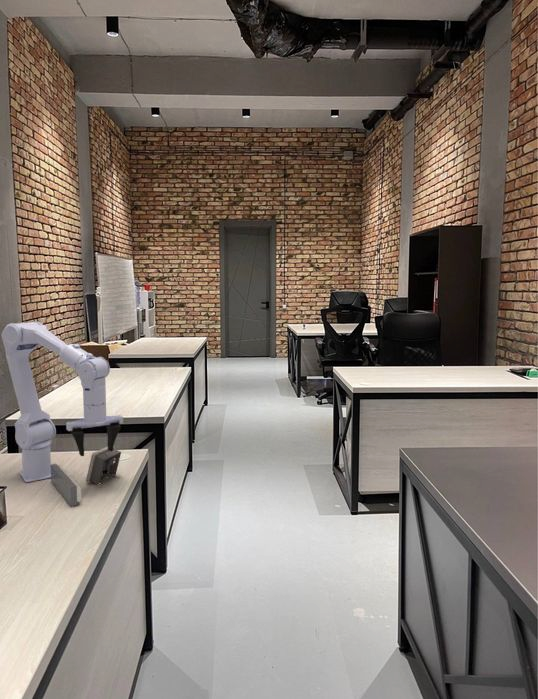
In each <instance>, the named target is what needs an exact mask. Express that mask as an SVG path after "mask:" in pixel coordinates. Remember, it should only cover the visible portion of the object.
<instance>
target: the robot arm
mask: <svg viewBox="0 0 538 699" xmlns="http://www.w3.org/2000/svg"><path fill="white" fill-rule="evenodd" d="M1 340H2V343H3V346H4V351H5V359H6V362H7V365H8V370H9V372H10V373H9V374H10V377H11V381H12V384H13V389H14V393H15V396H16V401H17V404H18V408H19V412H20V416H19V417H18V419H17V420H16V422H15V423H14V428H15V435H14V436H15V437H14V438H15V442H16V444H17V445H18V446H19V447H20V448H19V449H21V462H22V470H19V471H18V473H19V475H20V476H21V478H22V479H23V481H24V482H25V483H29V482H35V481H40V480H45V479H51V465H52V460H51V454H52V453H51V444H52V443H53V440H54V439H55V436H56V434H57V429H56V426H55V424H54V422H53V421H52V419H51V415H50V413H48V412H46V411H44V410H42V407H41V403H40V399H39V395H38V390H37V388H36V387H37V386H36V384H35V379H34V376H33V371H32V367H31V364H30V358H29V356H30V355H31V352H33V351H34V350H35V349H36V348H37V347H39V345H40V346H42V347H43V348H46V349H48V350H50V351H51V352H52V353H54V354H56V355H59V361H60V362H61V363H63V364H64V365H66V366H68V367H69V368H70V369H72V370H73V371H75V372H76V373H77V376H78V379H80V382H81V383H80V385H81V387H82V397H83V399H82V400H83V405H82V406H83V418H82V419H78V420H77V419H76V420H73V421H67V422H66V424H65V425H66V426H65V427H66V428H65V429H66V431H68V432H70V433H71V435H72V437H73V439H74V441H75V443H76V446H77V449H78V453H79V455H80V456H81V457H85V446H84V442H85V440H84V439H85V433H84V432H83V429H87V428H95V427H102V426H103V427H104V426H105V427H106V432H107V433H106V434H107V447H108V450H109V451H113V446H114V445H115V442H116V439H117V436H118V434H119V432H120V430H121V428H122V426H121V424H124V416H123V415H121V414H120V415H119V414H118V415H107V395H106V394H107V391H106V390H107V387H106V378H107V377H108V376H109V374H110V372H111V371H110V370H111V366H110V364H109V362H108V360H106V359H105V358H104V357H103V356H97V357H96V356H94V354H92V353H91V352H87V351H86V350H84V349H83V348H81V345H79V344H78V343H70V344H67V343H65V342H64V341H63V340H61V339H60V338H59V337H58V336H56V335H55V334H54V333H52V332H51V331H50V330H48V327H47V326H46V324H42V323H41V322H40V321H31V322H20V323H18V322H17V323H13V322H12V323H11V322H10V323H8V324H7V325H6V326H5V327H4V329H3V330H2V332H1Z"/></svg>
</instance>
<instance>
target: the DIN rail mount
mask: <svg viewBox="0 0 538 699" xmlns="http://www.w3.org/2000/svg"><path fill="white" fill-rule="evenodd" d="M50 482H51V484H52V486H54V488H55V489H56V490H57V491H58V493H59V494H60V495H61V496H62V497H63V499H64V500H65V501H66V502H67V503H68V505H69V506H70V508H73V507H76V506H78V502H82V487H81V486H80V485H79V484H78V482H76V480H75V479H74V478H73V477H72V476H71V475H70V474H69V473H68V472H67V470H66V469H65V468H64V467H63V465H60V464H57V463H51V478H50ZM72 506H73V507H72Z"/></svg>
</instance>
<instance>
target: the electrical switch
mask: <svg viewBox="0 0 538 699" xmlns="http://www.w3.org/2000/svg"><path fill="white" fill-rule="evenodd" d="M121 455H122V452H121V451H120V450H118V449H116V445H115V444H114V446H113V451H109V450H108V446H105V447H103V448H101V449H99V450H97V451H95V452H93V453H91V456H90V461H89V464H88V470H87V473H86V479H85V483H86V484H91V483H93V484H97V485H98V484H99V483H101V484H102V483H104V482H106V481H108V480H110V479H112V478H113V477H115V476H116V475H117V471H118V467H119V462H120V459H121ZM99 485H100V484H99Z"/></svg>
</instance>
